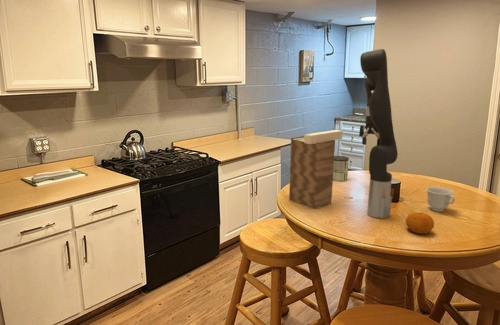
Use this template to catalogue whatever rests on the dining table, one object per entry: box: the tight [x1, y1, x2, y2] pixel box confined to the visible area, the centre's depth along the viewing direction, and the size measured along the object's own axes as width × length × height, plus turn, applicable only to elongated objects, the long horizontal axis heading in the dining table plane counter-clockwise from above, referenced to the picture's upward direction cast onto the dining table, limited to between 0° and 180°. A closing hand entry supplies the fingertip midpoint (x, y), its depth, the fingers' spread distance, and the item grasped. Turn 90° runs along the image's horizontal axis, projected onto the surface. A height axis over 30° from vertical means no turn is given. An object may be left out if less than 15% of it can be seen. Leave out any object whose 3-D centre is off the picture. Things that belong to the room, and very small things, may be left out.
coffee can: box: [333, 155, 350, 183], centre depth 223 cm, size 10×10×14 cm
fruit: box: [405, 212, 435, 235], centre depth 149 cm, size 10×10×8 cm
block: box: [303, 129, 344, 144], centre depth 176 cm, size 4×24×4 cm, turn 129°
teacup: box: [425, 186, 456, 213], centre depth 172 cm, size 12×15×10 cm
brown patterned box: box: [288, 135, 336, 210], centre depth 181 cm, size 18×12×33 cm, turn 39°
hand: (371, 145), depth 194 cm, fingers open, 8 cm apart
